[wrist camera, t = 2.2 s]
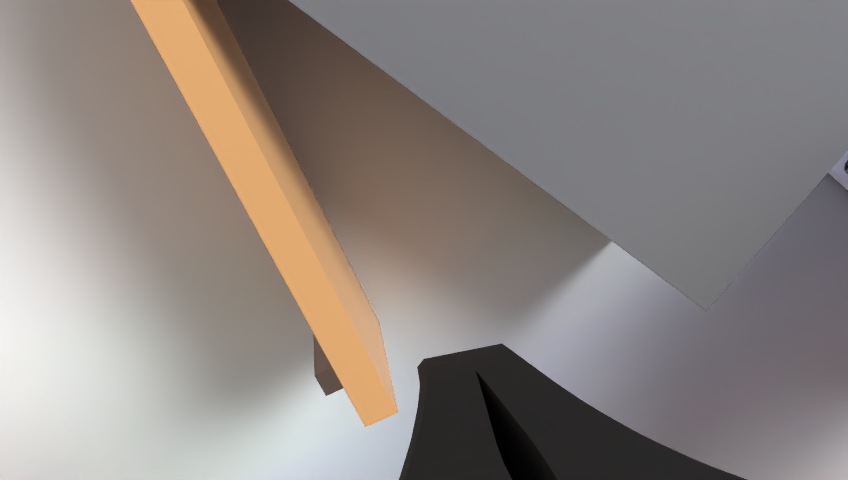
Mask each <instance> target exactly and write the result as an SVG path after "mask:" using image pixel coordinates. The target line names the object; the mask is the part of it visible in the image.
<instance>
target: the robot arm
mask: <svg viewBox="0 0 848 480" xmlns="http://www.w3.org/2000/svg"><path fill="white" fill-rule="evenodd" d="M847 160H848V151H847V152H846V153H845V154H844V155H843V156H842V158H841V159H840V160H839V161H838V162H837V163H836V164H835V166H834V167H833V168H832V169H831V170H830V171H829V172H828V173H829V174H830V175H831V176H832V177H833V178H834V179H836V180H837V181H838V182H839V183H840V184H841V185H842V186H843V187H844V188H846V189H847V190H848V169H847V170H844V167H845V163H846V162H847ZM417 368H418V374H419V380H420V392H419V401H418V409H417V414H416V419H415V424H414V429H413V434H412V438H411V442H410V446H409V449H408V452H407V456H406V459H405V462H404V465H403V469H402V472H401V475H400V478H399V480H747V479H744V478H741V477H738V476H736V475H733V474H730V473H727V472H724V471H722V470H719V469H716V468H714V467H711V466H709V465H707V464H704V463H702V462H699V461H697V460H694V459H692V458H690V457H688V456H685V455H683V454H681V453H679V452H677V451H674V450H672V449H670V448H668V447H666V446H664V445H661V444H659V443H657V442H655V441H653V440H651V439H649V438H647V437H645V436H643V435H641V434H639V433H637V432H635V431H633V430H631V429H630V428H628V427H626V426H624V425H623V424H621V423H619V422H617V421H616V420H614V419H612V418H610V417H608V416H607V415H605V414H603V413H601V412H600V411H598V410H597V409H595V408H593V407H592V406H590V405H588V404H587V403H585V402H584V401H582V400H581V399H579V398H577V397H576V396H574V395H573V394H571V393H570V392H568V391H567V390H565V389H564V388H562V387H561V386H560V385H558V384H557V383H555V382H554V381H553V380H551V379H550V378H548V377H547V376H546V375H544V374H543V373H541V372H540V371H539V370H537V369H536V368H535V367H533V366H532V365H531V364H529V363H528V362H527V361H525V360H524V359H523V358H521V357H520V356H518V355H517V354H516V353H514V352H513V351H512V350H510V349H509V348H507V347H506V346H505V345H503V344H498V345H493V346H488V347H483V348H478V349H472V350H467V351H462V352H457V353H452V354H447V355H442V356H437V357H432V358H427V359H424V360H423V361H422V362H421V363H420V365H419V366H418V367H417Z"/></svg>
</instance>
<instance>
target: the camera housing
mask: <svg viewBox="0 0 848 480" xmlns="http://www.w3.org/2000/svg"><path fill="white" fill-rule="evenodd" d="M289 1H290V2H291V3H293V4H294V5H295V6H297V7H298V8H299V9H301V10H302V11H303V12H305V13H306V14H307V15H309V16H310V17H311V18H313V19H314V20H315V21H317V22H318V23H319V24H321V25H322V26H323V27H325V28H326V29H328V30H329V31H330V32H332V33H333V34H334V35H336V36H337V37H338V38H340V39H341V40H342V41H344V42H345V43H346V44H348V45H349V46H350V47H352V48H353V49H354V50H356V51H357V52H358V53H360V54H361V55H362V56H364V57H365V58H367V59H368V60H369V61H371V62H372V63H373V64H375V65H376V66H377V67H379V68H380V69H381V70H383V71H384V72H385V73H387V74H388V75H389V76H391V77H392V78H393V79H395V80H396V81H397V82H399V83H400V84H402V85H403V86H404V87H406V88H407V89H408V90H410V91H411V92H412V93H414V94H415V95H416V96H418V97H419V98H420V99H422V100H423V101H424V102H426V103H427V104H428V105H430V106H431V107H432V108H434V109H435V110H436V111H438V112H439V113H441V114H442V115H443V116H445V117H446V118H447V119H449V120H450V121H451V122H453V123H454V124H455V125H457V126H458V127H459V128H461V129H462V130H463V131H465V132H466V133H467V134H469V135H470V136H471V137H473V138H474V139H475V140H477V141H478V142H480V143H481V144H482V145H484V146H485V147H486V148H488V149H489V150H490V151H492V152H493V153H494V154H496V155H497V156H498V157H500V158H501V159H502V160H504V161H505V162H506V163H508V164H509V165H510V166H512V167H513V168H514V169H516V170H517V171H519V172H520V173H521V174H523V175H524V176H525V177H527V178H528V179H529V180H531V181H532V182H533V183H535V184H536V185H537V186H539V187H540V188H541V189H543V190H544V191H545V192H547V193H548V194H549V195H551V196H552V197H553V198H555V199H556V200H558V201H559V202H560V203H562V204H563V205H564V206H566V207H567V208H568V209H570V210H571V211H572V212H574V213H575V214H576V215H578V216H579V217H580V218H582V219H583V220H584V221H586V222H587V223H588V224H590V225H591V226H592V227H594V228H595V229H597V230H598V231H599V232H601V233H602V234H603V235H605V236H606V237H607V238H609V239H610V240H611V241H613V242H614V243H615V244H617V245H618V246H619V247H621V248H622V249H623V250H625V251H626V252H627V253H629V254H630V255H631V256H633V257H634V258H636V259H637V260H638V261H640V262H641V263H642V264H644V265H645V266H646V267H648V268H649V269H650V270H652V271H653V272H654V273H656V274H657V275H658V276H660V277H661V278H662V279H664V280H665V281H666V282H668V283H669V284H670V285H672V286H673V287H675V288H676V289H677V290H679V291H680V292H681V293H683V294H684V295H685V296H687V297H688V298H689V299H691V300H692V301H693V302H695V303H696V304H697V305H699V306H700V307H701V308H703V309H704V310H705V311H707V310H708V309H709V307H710V306H711V305H712V304H713V303H714V302H715V301H716V300H717V298H718V297H719V296H720V295H721V294H722V293H723V292H724V290H725V289H726V288H727V287H728V286H729V285H730V284H731V283H732V281H733V280H734V279H735V278H736V277H737V276H738V275H739V273H740V272H741V271H742V270H743V269H744V268H745V267H746V265H747V264H748V263H749V262H750V261H751V260H752V259H753V258H754V256H755V255H756V254H757V253H758V252H759V251H760V250H761V248H762V247H763V246H764V245H765V244H766V243H767V242H768V240H769V239H770V238H771V237H772V236H773V235H774V234H775V233H776V231H777V230H778V229H779V228H780V227H781V226H782V225H783V223H784V222H785V221H786V220H787V219H788V218H789V217H790V216H791V214H792V213H793V212H794V211H795V210H796V209H797V208H798V206H799V205H800V204H801V203H802V202H803V201H804V200H805V198H806V197H807V196H808V195H809V194H810V193H811V192H812V191H813V189H814V188H815V187H816V186H817V185H818V184H819V183H820V181H821V180H822V179H823V178H824V177H825V176H826V175H827V173H828V172H829V171H830V170H831V169H832V168H833V167H834V166H835V164H836V163H837V162H838V161H839V160H840V159H841V158H842V156H843V155H844V154H845V153H846V152H847V151H848V0H289Z"/></svg>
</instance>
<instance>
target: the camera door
mask: <svg viewBox="0 0 848 480" xmlns="http://www.w3.org/2000/svg"><path fill="white" fill-rule="evenodd" d="M131 2H132V4H133V6H134V8H135V10H136V11H137V13H138V15H139V17H140V19H141V20H142V22H143V24H144V26H145V28H146V29H147V31H148V33H149V35H150V37H151V39H152V40H153V42H154V44H155V46H156V48H157V49H158V51H159V53H160V55H161V57H162V59H163V60H164V62H165V64H166V66H167V68H168V69H169V71H170V73H171V75H172V77H173V79H174V80H175V82H176V84H177V86H178V88H179V89H180V91H181V93H182V95H183V97H184V99H185V100H186V102H187V104H188V106H189V108H190V109H191V111H192V113H193V115H194V117H195V119H196V120H197V122H198V124H199V126H200V128H201V129H202V131H203V133H204V135H205V137H206V139H207V140H208V142H209V144H210V146H211V148H212V149H213V151H214V153H215V155H216V157H217V159H218V160H219V162H220V164H221V166H222V168H223V169H224V171H225V173H226V175H227V177H228V179H229V180H230V182H231V184H232V186H233V188H234V189H235V191H236V193H237V195H238V197H239V199H240V200H241V202H242V204H243V206H244V208H245V209H246V211H247V213H248V215H249V217H250V219H251V220H252V222H253V224H254V226H255V228H256V229H257V231H258V233H259V235H260V237H261V238H262V240H263V242H264V244H265V246H266V248H267V249H268V251H269V253H270V255H271V257H272V258H273V260H274V262H275V264H276V266H277V268H278V269H279V271H280V273H281V275H282V277H283V278H284V280H285V282H286V284H287V286H288V288H289V289H290V291H291V293H292V295H293V297H294V298H295V300H296V302H297V304H298V306H299V308H300V309H301V311H302V313H303V315H304V317H305V318H306V320H307V322H308V324H309V326H310V328H311V329H312V331H313V333H314V370H315V377H316V379H317V381H318V382H319V384H320V386H321V388H322V389H323V391H324V393H325V395H326V396H327V395H329V394H331V393H334V392H336V391H338V390H340V389H342V388H344V389H345V391H346V393H347V395H348V397H349V398H350V400H351V402H352V404H353V406H354V408H355V409H356V411H357V413H358V415H359V417H360V418H361V420H362V422H363V424H364V426H365V427H366V426H368V425H371V424H373V423H375V422H377V421H379V420H382V419H384V418H386V417H388V416H391V415H393V414H395V413H397V412H398V410H397V405H396V401H395V396H394V391H393V386H392V382H391V377H390V372H389V367H388V363H387V358H386V353H385V348H384V343H383V339H382V334H381V329H380V324H379V321H378V319H377V317H376V315H375V313H374V311H373V309H372V307H371V305H370V303H369V301H368V299H367V297H366V295H365V294H364V292H363V290H362V288H361V286H360V284H359V282H358V280H357V278H356V276H355V274H354V272H353V270H352V268H351V266H350V264H349V262H348V260H347V258H346V256H345V254H344V252H343V250H342V248H341V246H340V244H339V242H338V240H337V238H336V236H335V234H334V232H333V230H332V228H331V226H330V224H329V222H328V220H327V218H326V216H325V214H324V212H323V210H322V208H321V206H320V205H319V203H318V201H317V199H316V197H315V195H314V193H313V191H312V189H311V187H310V185H309V183H308V181H307V179H306V177H305V175H304V173H303V171H302V169H301V167H300V165H299V163H298V161H297V159H296V157H295V155H294V153H293V151H292V149H291V147H290V145H289V143H288V141H287V139H286V137H285V135H284V133H283V131H282V129H281V127H280V125H279V123H278V121H277V119H276V117H275V115H274V114H273V112H272V110H271V108H270V106H269V104H268V102H267V100H266V98H265V96H264V94H263V92H262V90H261V88H260V86H259V84H258V82H257V80H256V78H255V76H254V74H253V72H252V70H251V68H250V66H249V64H248V62H247V60H246V58H245V56H244V54H243V52H242V50H241V48H240V46H239V44H238V42H237V40H236V38H235V36H234V34H233V32H232V30H231V28H230V26H229V25H228V23H227V21H226V19H225V17H224V15H223V13H222V11H221V9H220V7H219V5H218V3H217V1H216V0H131Z"/></svg>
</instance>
